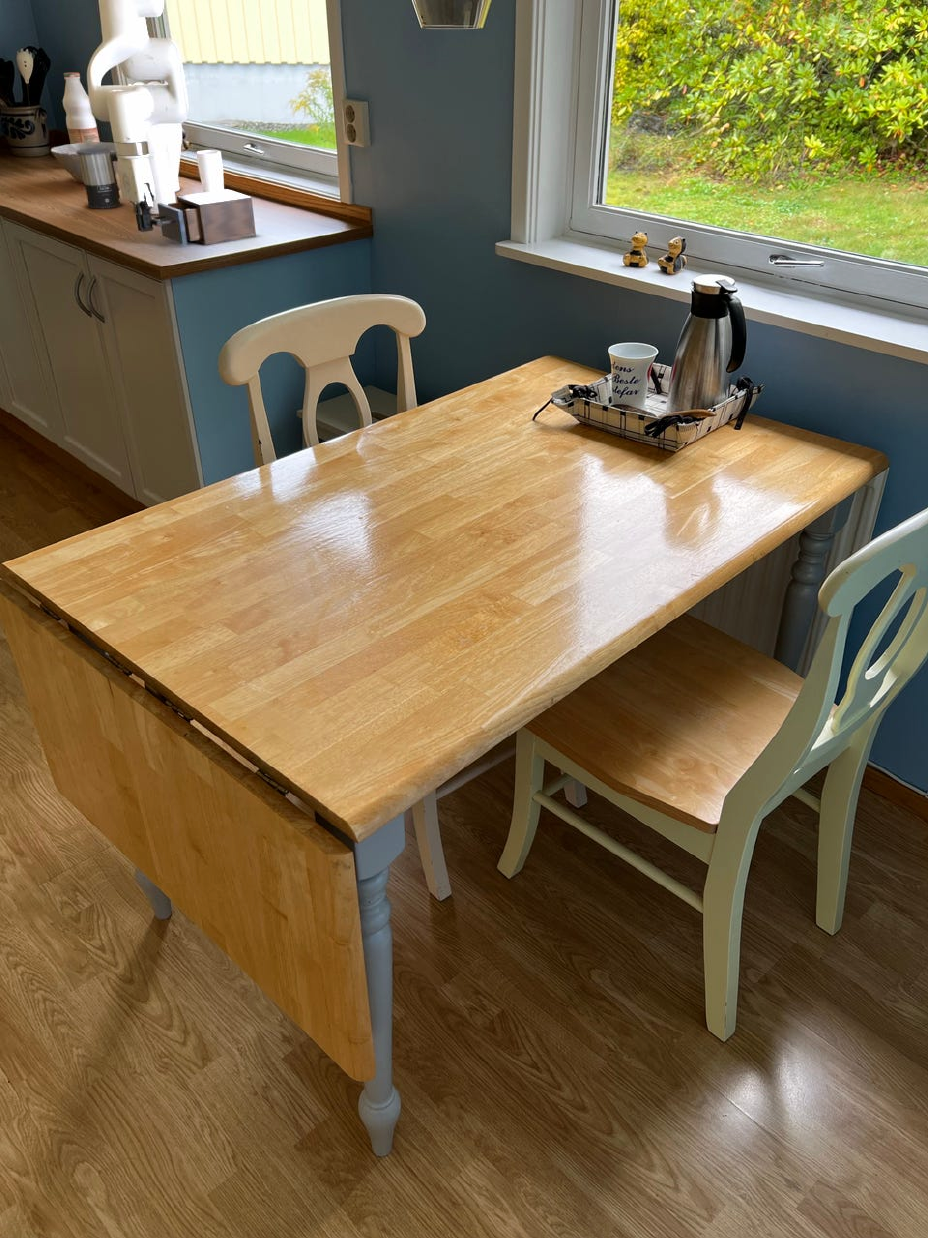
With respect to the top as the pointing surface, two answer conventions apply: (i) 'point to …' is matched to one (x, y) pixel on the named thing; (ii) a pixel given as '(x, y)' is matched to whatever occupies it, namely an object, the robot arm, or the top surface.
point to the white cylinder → (210, 170)
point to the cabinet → (223, 215)
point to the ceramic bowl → (71, 158)
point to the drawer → (179, 222)
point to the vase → (171, 144)
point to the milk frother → (99, 177)
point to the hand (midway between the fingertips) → (145, 230)
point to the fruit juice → (78, 111)
